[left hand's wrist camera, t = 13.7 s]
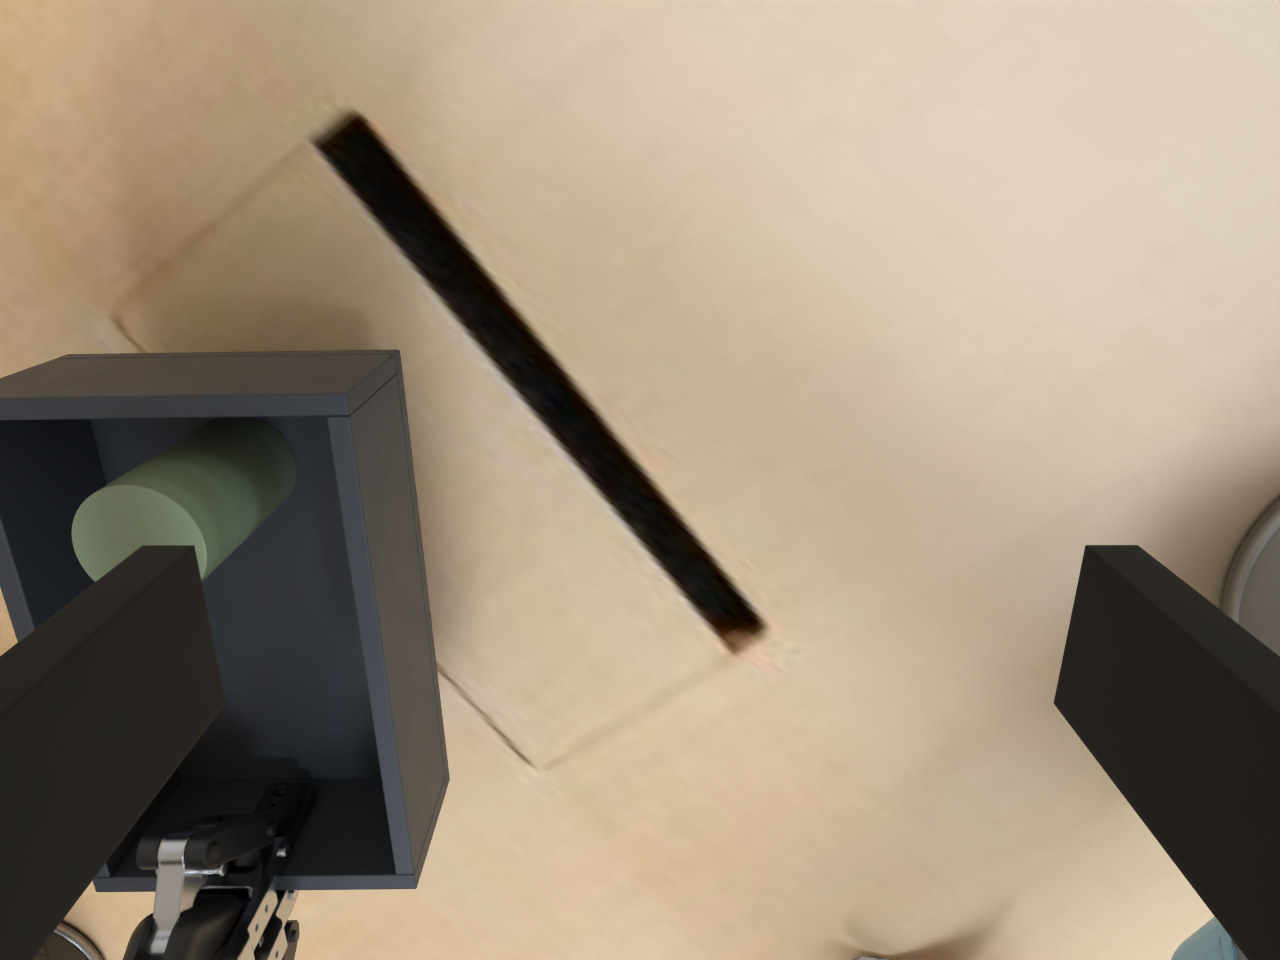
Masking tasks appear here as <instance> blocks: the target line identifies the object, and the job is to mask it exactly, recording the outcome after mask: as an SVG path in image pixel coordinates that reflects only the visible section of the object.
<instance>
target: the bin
mask: <svg viewBox="0 0 1280 960" xmlns="http://www.w3.org/2000/svg"><path fill="white" fill-rule="evenodd" d="M218 417H253V418H256V419H258V420H261V421H263V422H265V423H267V424H268V425H270V426H271V427H273V428H274V429H275V430H276V431H277V432H279V433H280V434H281V436H282V437H283V438H284V439H285V440H286V442H287V443H288V445H289V446H290V448H291V450H292V452H293V455H294V457H295V461H296V467H297V478H296V483H295V486H294V489H293V491H292V493H291V495H290V496H289V497H288V499H287V500H286V501H285V502H284V503H283V504H282V505H281V506H280V507H279V508H278V509H276V510H275V511H274V512H273V513H272V514H271V515H270V516H269V517H268V518H267V519H266V520H265V521H264V522H263V523H262V524H261V525H260V526H259V527H258V528H257V529H256V530H255V531H254V532H253V533H252V534H251V535H250V536H249V537H248V538H247V539H246V540H245V541H244V542H243V543H242V544H241V545H240V546H239V547H238V548H236V549H235V550H234V551H233V552H232V553H231V554H230V555H229V556H228V557H227V558H226V559H225V560H224V561H223V562H222V563H221V564H220V565H219V566H218V567H217V568H216V569H215V570H214V571H213V572H212V573H211V574H210V575H209V576H208V577H207V578H206V579H205V580H204V581H203V582H202V586H203V591H204V596H205V601H206V606H207V610H208V615H209V620H210V625H211V630H212V635H213V640H214V645H215V650H216V655H217V660H218V665H219V670H220V675H221V680H222V685H223V690H224V695H225V700H226V704H225V706H224V707H223V708H222V710H221V711H220V712H219V714H218V715H217V716H216V718H215V719H214V720H213V721H212V723H211V724H210V725H209V727H208V728H207V729H206V731H205V732H204V733H203V735H202V736H201V737H200V739H199V740H198V741H197V743H196V744H195V745H194V747H193V748H192V749H191V751H190V752H189V753H188V755H187V756H186V757H185V759H184V760H183V761H182V762H181V764H180V765H179V766H178V768H177V769H176V770H175V772H174V773H173V774H172V776H171V777H170V778H169V780H168V781H167V782H166V784H165V785H164V786H163V788H162V789H161V790H160V792H159V793H158V794H157V796H156V797H155V798H154V799H153V801H152V802H151V803H150V805H149V806H148V807H147V809H146V810H145V811H144V813H143V814H142V815H141V817H140V818H139V819H138V821H137V822H136V823H135V825H134V826H133V827H132V829H131V830H130V831H129V833H128V834H127V835H126V837H125V838H124V839H123V840H122V842H121V843H120V844H119V846H118V847H117V848H116V850H115V851H114V852H113V854H112V855H111V856H110V858H109V859H108V860H107V862H106V863H105V864H104V866H103V867H102V868H101V870H100V871H99V872H98V874H97V875H96V876H95V878H94V879H93V883H94V886H95V889H96V892H151V891H156V885H157V875H156V869H144V870H142V869H139V868H138V866H137V863H136V853H137V848H138V845H139V843H140V841H141V839H142V838H143V836H144V835H145V834H147V833H150V832H153V831H157V830H160V829H164V828H167V827H171V826H174V825H178V824H181V823H185V822H188V821H192V820H195V819H199V818H202V817H206V816H210V815H213V814H252V813H253V811H254V810H255V808H256V806H257V805H258V803H259V802H260V799H261V798H262V796H264V795H263V794H264V793H265V791H266V789H267V787H268V786H269V785H271V784H272V783H273V782H312V783H314V785H315V789H316V794H317V800H316V802H315V804H314V806H313V808H312V810H311V812H310V814H309V816H308V818H307V820H306V822H305V824H304V826H303V828H302V830H301V832H300V834H299V836H298V838H297V840H296V842H295V844H294V846H293V848H292V850H291V852H289V855H288V859H287V861H286V863H285V865H284V867H283V869H282V871H281V873H280V875H279V877H278V879H277V881H276V883H275V889H276V890H351V889H416V888H417V885H418V881H419V878H420V875H421V872H422V868H423V865H424V862H425V859H426V855H427V852H428V849H429V845H430V842H431V839H432V836H433V832H434V829H435V826H436V823H437V819H438V816H439V813H440V809H441V806H442V803H443V800H444V796H445V793H446V789H447V786H448V783H449V780H450V778H449V770H448V761H447V753H446V744H445V735H444V727H443V718H442V710H441V701H440V692H439V684H438V675H437V667H436V658H435V649H434V641H433V632H432V623H431V615H430V606H429V598H428V589H427V580H426V572H425V563H424V555H423V546H422V537H421V529H420V520H419V512H418V503H417V494H416V486H415V477H414V469H413V460H412V451H411V443H410V434H409V426H408V417H407V408H406V400H405V391H404V383H403V374H402V365H401V357H400V351H399V350H345V351H275V352H205V353H135V354H68V355H65V356H62V357H59V358H57V359H54V360H51V361H48V362H45V363H43V364H40V365H37V366H34V367H31V368H28V369H26V370H23V371H20V372H17V373H14V374H11V375H9V376H6V377H3V378H0V587H1V590H2V593H3V596H4V600H5V603H6V606H7V609H8V612H9V615H10V619H11V622H12V625H13V628H14V631H15V634H16V638H17V641H18V642H19V641H21V640H22V639H23V638H24V637H26V636H27V635H28V634H30V633H31V632H32V631H33V630H35V629H36V628H37V627H39V626H40V625H41V624H42V623H44V622H45V621H46V620H48V619H49V618H50V617H51V616H53V615H54V614H55V613H56V612H58V611H59V610H60V609H62V608H63V607H64V606H65V605H67V604H68V603H69V602H71V601H72V600H73V599H74V598H76V597H77V596H78V595H79V594H81V593H82V592H83V591H85V590H86V589H87V588H88V587H90V586H91V585H92V584H94V583H95V581H94V580H93V579H92V578H91V577H90V576H89V575H88V574H87V572H86V571H85V570H84V568H83V567H82V565H81V564H80V562H79V560H78V558H77V556H76V553H75V550H74V547H73V542H72V524H73V520H74V517H75V514H76V512H77V510H78V508H79V507H80V505H81V504H82V503H83V502H84V501H85V500H86V498H88V497H89V496H90V495H92V494H93V493H95V492H96V491H98V490H99V489H101V488H103V487H104V486H106V485H108V484H109V483H111V482H112V481H114V480H116V479H117V478H119V477H120V476H122V475H124V474H125V473H127V472H128V471H130V470H132V469H133V468H135V467H137V466H138V465H140V464H141V463H143V462H145V461H146V460H148V459H149V458H151V457H153V456H154V455H156V454H157V453H159V452H161V451H162V450H164V449H166V448H167V447H169V446H170V445H172V444H174V443H175V442H177V441H178V440H180V439H182V438H183V437H185V436H186V435H188V434H190V433H191V432H193V431H195V430H196V429H198V428H199V427H201V426H203V425H204V424H206V423H207V422H209V421H211V420H213V419H215V418H218ZM255 868H256V867H238V868H237V869H236V871H235V873H249V872H251V871H253V870H254V869H255Z"/></svg>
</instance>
